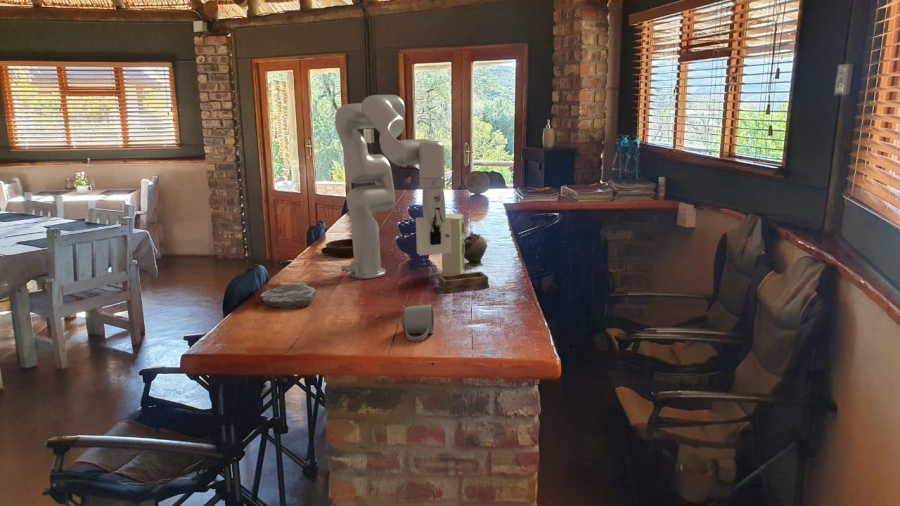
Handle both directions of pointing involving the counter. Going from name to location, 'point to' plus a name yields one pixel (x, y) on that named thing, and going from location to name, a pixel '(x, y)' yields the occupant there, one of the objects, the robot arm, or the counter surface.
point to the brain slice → (289, 296)
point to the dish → (339, 248)
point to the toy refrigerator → (455, 247)
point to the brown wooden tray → (463, 282)
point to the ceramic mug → (418, 321)
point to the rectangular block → (424, 237)
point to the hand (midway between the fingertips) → (433, 242)
